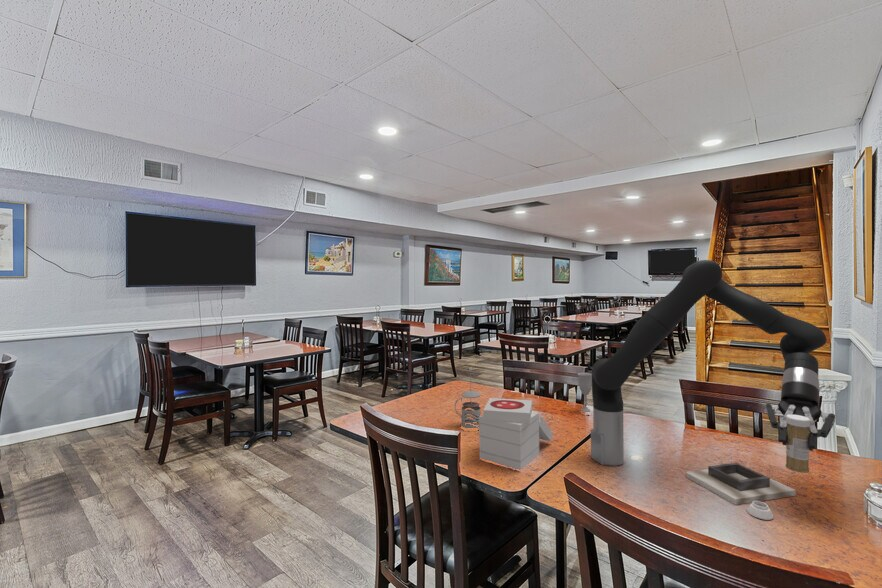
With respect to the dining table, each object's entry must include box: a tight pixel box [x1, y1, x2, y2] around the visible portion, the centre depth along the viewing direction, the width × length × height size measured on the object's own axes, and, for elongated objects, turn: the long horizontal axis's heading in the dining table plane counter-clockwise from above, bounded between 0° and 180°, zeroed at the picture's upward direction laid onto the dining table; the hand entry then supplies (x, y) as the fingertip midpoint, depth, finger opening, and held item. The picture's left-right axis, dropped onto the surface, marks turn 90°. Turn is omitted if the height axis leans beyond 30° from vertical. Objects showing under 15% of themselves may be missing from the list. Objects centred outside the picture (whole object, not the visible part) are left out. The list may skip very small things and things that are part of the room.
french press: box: [454, 366, 481, 428], centre depth 165 cm, size 10×12×25 cm
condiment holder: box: [685, 462, 797, 506], centre depth 115 cm, size 20×16×4 cm
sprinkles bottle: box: [785, 415, 810, 474], centre depth 101 cm, size 5×5×14 cm
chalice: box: [577, 372, 592, 412], centre depth 181 cm, size 7×7×18 cm
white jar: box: [746, 501, 774, 521], centre depth 100 cm, size 5×3×5 cm
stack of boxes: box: [478, 397, 554, 470], centre depth 140 cm, size 19×30×18 cm, turn 144°
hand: (797, 446), depth 99 cm, fingers closed on sprinkles bottle, 4 cm apart
